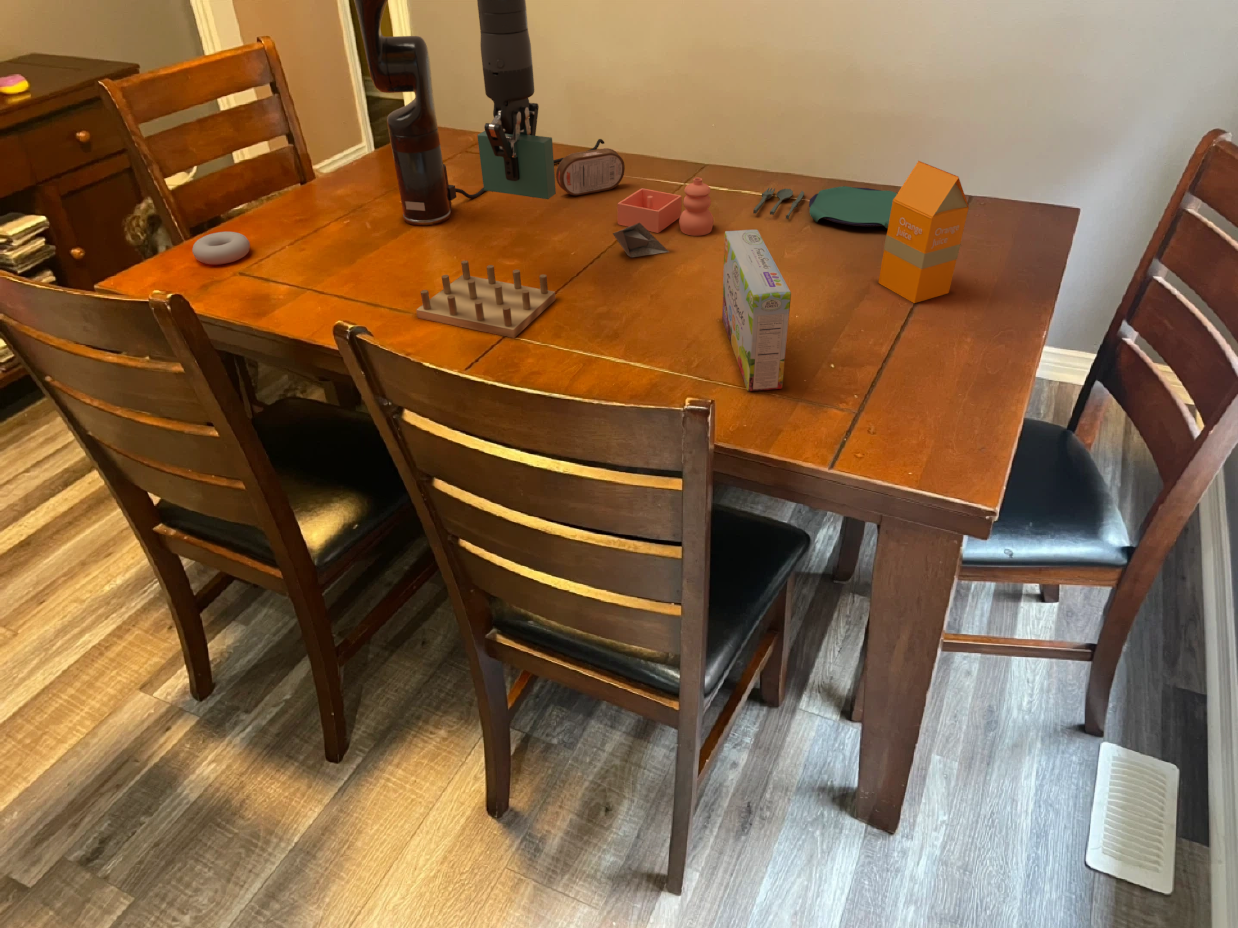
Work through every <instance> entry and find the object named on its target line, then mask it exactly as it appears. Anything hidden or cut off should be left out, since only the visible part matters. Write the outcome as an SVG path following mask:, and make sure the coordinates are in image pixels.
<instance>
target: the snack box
mask: <svg viewBox="0 0 1238 928" xmlns="http://www.w3.org/2000/svg"><path fill="white" fill-rule="evenodd" d="M760 233H761V232H760V231H759V230H758V229H756V228H755V229H741V230H740V229H739V230H725V232H724V242H723V243H724V244H723V245H724V246H723V247H724V248H723V275H722V276H723V278H722V279H723V280H722V282H723V283H722V314H721V318H722V319H721V321H722V323H723V326H724V329H725V332H726V335H727V338H728V340H729V343H730V346H731V348H732V351H733V354H734V357H735V360H736V363H737V365H738V366H737V367H738V368H739V372H740V374H741V377H742V379H743V383H744V385H745V388H746V391H747V392H755V391H769V390H778V389H779V390H781V389H783V384H784V383H783V382H784V374H785V373H784V371H785V362H786V361H785V360H786V352H787V340H788V329H789V321H790V320H789V319H790V311H791V302H792V301H791V300H792V291H791V290H790V288H789V286H788V284H787V282H786V281H785V279H784V276H783V275H782V273H781V271H780V270H779V268H778V266H777V264H776V262H775V260H774V258H773V256H772V254H771V253H770V250H769V249H768V247H767V244H766V243H765V241H764V239H763V237H762V235H761V234H760Z"/></svg>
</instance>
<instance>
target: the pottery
mask: <svg viewBox="0 0 1238 928" xmlns="http://www.w3.org/2000/svg"><path fill="white" fill-rule="evenodd" d="M684 193H685V196H684V197H683V195H679V194H675V193H669V192H664V191H660V190H659V191H658V190H655V189H649V188H643V187H641V188H640V189H638V190H636V191H635V192H633V193H632V194H630V195H628V196H627V197H626V198H624V199H622V200H620V201H619V202H617V204H616V205H617V206H616V207H617V209H616V210H617V225H618V226H623V227H627V228H628V227H630V226H632V225H635V224H637V223H641V224H642V225H643V226H644V227H645V228H646V229H647V230H648V231H649V232H650V233H657V234H659V233H661V232H662V231H663V230H665V229H666V228H667V227H669V226H670V225H672V224H673V223H674V222H676V221H677V220H678V222H679V228H680V231H681V233H683V234H684V235H687V236H693V237H697V236H698V237H699V236H700V237H701V236H705V235H706V236H707V235H708V234H710V233H711V232H712V230H713V226H714V216H713V214H712V212H711V210H709V208H710V207H711V203H712V200H711V197H710V193H711V187H710V186H709V185H708V184H707V183H704V182H703V178H702V177H694V178H693V182H691V183H688V184H687V185H686V186H685V187H684ZM682 203H683V204H682ZM682 205H683V206H684V208H685V209H684V210H683V211H682Z"/></svg>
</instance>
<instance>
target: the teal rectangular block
mask: <svg viewBox="0 0 1238 928" xmlns="http://www.w3.org/2000/svg"><path fill="white" fill-rule="evenodd" d="M505 135H506V136H513V135H511V134H505ZM477 143H478V152H479V161H480V169H481V178H482V188H483V187H484V190H485V192H492V193H493V192H494V193H500V194H506V195H507V194H508V195H513V196H521V197H529V198H536V199H543V200H549V199H550V198H552V197H554V195H557V192H556V191H557V189H556V177H555V176H556V173H555V164H554V160H555V159H554V148H553V147H554V146H553V144H554V143H553V137H551V136H543V135H535V136H534V135H523V134H520V140H519V142H518V143H517V157H518V164H519V175H520V179H519V180H517V181H510V180H507V179H506V175H505V166H504V158H503V157H501V156H495V154H494V152H493V149H492V147H491V144H490V142H489V139H488V137H487V134H486V132H485V130H483V131H482V132H480V133H478V134H477ZM508 144H509V147H510V149H511V143H510V142H508ZM499 148H500V146H499Z"/></svg>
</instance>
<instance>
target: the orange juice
mask: <svg viewBox="0 0 1238 928" xmlns="http://www.w3.org/2000/svg"><path fill="white" fill-rule="evenodd" d="M969 209H970V206H969V203H968V200H967V197H966V194H965V191H964V189H963V186H962V182H961V180H960V177H959V176H958V175H956V174H953V173H951V172H948V171H947V170H946V171H945V170H943V169H940V168H938V167H935V166H933V165H931V164H928V163H925V162H922V161H921V160H917V162H916V163H915V166H914V167H913V168H912V170H911V172H910V173H909V175H908V177H907V178H906V180H905V181H904V183H903V184H902V186H901V188H900V189H899V190H898V192H897V195H896V197H895V198H894V199H893V203H892V208H891V214H890V220H889V225H888V228H887V231H886V235H885V241H884V245H883V254H882V259H881V265H880V272H879V276H878V282H877V283H878V284H880V285H881V286H883V287H885V288H886V289H888V290H889V291H891V292H893V293H895V294H897V295H898V296H901V297H902V298H903V299H906V300H907V301H909V302H911V303H913V304H918V303H920V302H923V301H927V300H930V299H935V298H937V297H940V296H943V295H944V296H945V295H946V294H949V293H950V291H951V290H950V289H951V285H952V280H953V276H954V273H955V267H956V263H957V260H958V256H959V253H960V249H961V242H962V238H963V234H964V230H965V226H966V221H967V218H968V217H967V216H968V212H969Z"/></svg>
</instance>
